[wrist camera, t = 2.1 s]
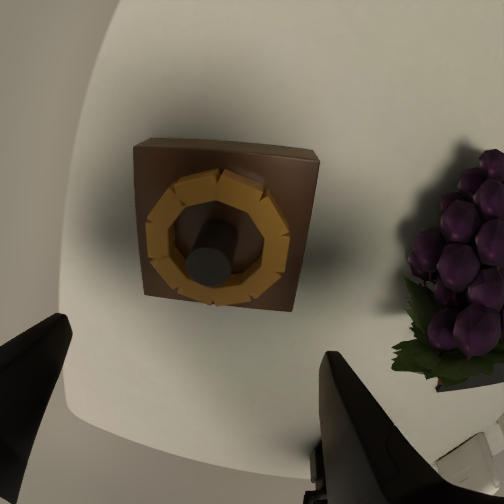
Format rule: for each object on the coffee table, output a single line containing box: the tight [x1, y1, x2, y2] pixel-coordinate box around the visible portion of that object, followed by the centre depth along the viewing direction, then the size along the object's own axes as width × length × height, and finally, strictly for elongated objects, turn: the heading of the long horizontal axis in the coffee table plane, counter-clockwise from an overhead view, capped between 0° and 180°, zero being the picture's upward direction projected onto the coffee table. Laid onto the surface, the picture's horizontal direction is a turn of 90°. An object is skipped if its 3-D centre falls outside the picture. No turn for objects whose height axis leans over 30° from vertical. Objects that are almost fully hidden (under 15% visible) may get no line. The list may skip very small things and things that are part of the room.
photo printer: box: [437, 433, 501, 495], centre depth 31 cm, size 10×4×12 cm, turn 154°
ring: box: [146, 168, 290, 306], centre depth 16 cm, size 7×7×1 cm
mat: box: [436, 363, 504, 392], centre depth 23 cm, size 14×10×1 cm
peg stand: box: [133, 138, 320, 312], centre depth 16 cm, size 9×9×6 cm
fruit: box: [391, 149, 504, 389], centre depth 14 cm, size 10×11×15 cm
